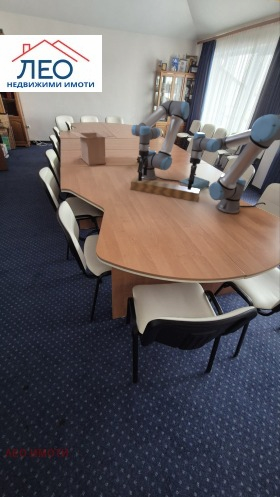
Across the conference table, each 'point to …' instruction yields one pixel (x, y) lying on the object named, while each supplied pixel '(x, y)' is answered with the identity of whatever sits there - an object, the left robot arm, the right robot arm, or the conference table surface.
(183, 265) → the conference table surface
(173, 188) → the wide beam
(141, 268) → the conference table surface
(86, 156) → the box
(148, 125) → the left robot arm
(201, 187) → the book
